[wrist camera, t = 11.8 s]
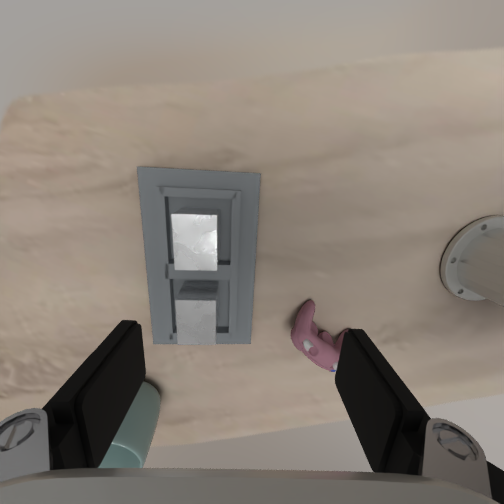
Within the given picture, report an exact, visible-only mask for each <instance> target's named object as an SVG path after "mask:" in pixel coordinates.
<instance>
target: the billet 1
mask: <svg viewBox="0 0 504 504" xmlns="http://www.w3.org/2000/svg"><path fill="white" fill-rule="evenodd" d="M171 217H172V233H173V250H174V266H175V270H208V271H217V269H218V264H219V259H220V209H208V208H181V209H179V210H177V211H175V212H174V213H172V214H171Z"/></svg>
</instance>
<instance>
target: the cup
mask: <svg viewBox="0 0 504 504" xmlns="http://www.w3.org/2000/svg"><path fill="white" fill-rule="evenodd" d="M160 404H161V400H160V395H159V393H158V391H157V389H156V388H155V387H154V386H152V385H151V384H149V383H147V382H144V381H143V383H142V385H141V387H140V389H139V391H138V393H137V395H136V397H135V399H134V401H133V402H132V404H131V406H130V408H129V410H128V412H127V414H126V416H125V418H124V420H123V422H122V424H121V426H120V428H119V430H118V432H117V434H116V436H115V437H114V439H113V441H112V443H111V445H110V447H109V449H108V451H107V453H106V455H105V457H104V459H103V461H102V463H101V464H100V466H99V467H98V468H143V466H144V463H145V460H146V457H147V454H148V451H149V448H150V445H151V442H152V439H153V436H154V432H155V429H156V426H157V422H158V418H159V413H160Z"/></svg>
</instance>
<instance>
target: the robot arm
mask: <svg viewBox="0 0 504 504" xmlns="http://www.w3.org/2000/svg"><path fill="white" fill-rule="evenodd" d="M441 278H442V282H443V284H444V285H445V287H446V288H447V289H448V290H449V291H450V292H451V293H453V294H454V295H456V296H458V297H460V298H462V299H465V300H470V301H479V300H485V299H489V300H491V301H493V302H495V303H497V304H499V305H501V306H503V307H504V216H489V217H485V218H482V219H479V220H477V221H475V222H473V223H471V224H469V225H468V226H467V227H465V228H464V229H463V230H461V231H460V232H459V233H458V234H457V235H456V236H455V237H454V239H453V240H452V241H451V243H450V244H449V245H448V247H447V249H446V251H445V253H444V256H443V258H442V263H441ZM145 375H146V368H145V359H144V349H143V339H142V329H141V325H140V324H138V323H137V321H133V320H122V321H121V322H120V323H119V324H118V325H117V326H116V327H115V328H114V330H113V331H112V332H111V333H110V334H109V335H108V336H107V337H106V339H105V340H104V341H103V342H102V343H101V344H100V345H99V346H98V348H97V349H96V350H95V351H94V352H93V353H92V354H91V355H90V356H89V357H88V358H87V359H86V360H85V361H84V362H83V363H82V365H81V366H80V367H79V368H78V369H77V370H76V371H75V372H74V374H73V375H72V376H71V377H70V378H69V379H68V380H67V381H66V383H65V384H64V385H63V386H62V387H61V388H60V389H59V390H58V391H57V393H56V394H55V395H54V396H53V397H52V398H51V399H50V400H49V402H48V403H47V404H46V405H45V406H44V407H43V408H42V409H38V408H32V409H26V410H23V411H20V412H17V413H15V414H13V415H11V416H9V417H7V418H6V419H4V420H3V421H1V422H0V504H504V471H503V470H501V469H500V468H498V467H496V466H495V465H493V464H491V463H490V462H488V461H486V457H485V454H484V451H483V449H482V448H481V446H480V445H479V443H478V442H477V441H476V440H475V439H474V438H473V437H472V436H471V435H470V434H469V433H467V432H466V431H465V430H464V429H462V428H461V427H459V426H458V425H456V424H454V423H452V422H449V421H447V420H444V419H440V418H432V419H431V418H430V417H429V416H428V414H427V413H426V412H425V410H424V409H423V407H422V406H421V405H420V403H419V402H418V401H417V399H416V398H415V397H414V395H413V394H412V393H411V392H410V390H409V389H408V388H407V386H406V385H405V384H404V382H403V381H402V380H401V379H400V377H399V376H398V375H397V373H396V372H395V371H394V369H393V368H392V367H391V365H390V364H389V363H388V362H387V360H386V359H385V358H384V356H383V355H382V354H381V352H380V351H379V350H378V348H377V347H376V346H375V345H374V343H373V342H372V341H371V339H370V338H369V337H368V335H367V334H366V333H365V331H364V330H362V329H349V330H348V332H345V333H344V336H343V341H342V346H341V351H340V356H339V360H338V365H337V370H336V375H335V384H336V387H337V389H338V392H339V394H340V396H341V399H342V401H343V403H344V406H345V408H346V410H347V413H348V415H349V417H350V420H351V422H352V424H353V427H354V428H355V431H356V433H357V436H358V438H359V441H360V443H361V445H362V448H363V450H364V452H365V455H366V457H367V459H368V462H369V464H370V466H371V468H372V470H373V472H351V471H348V472H347V471H306V470H302V471H301V470H255V469H191V468H190V469H187V468H186V469H183V468H98V467H99V466H100V464H101V463H102V461H103V459H104V457H105V455H106V453H107V451H108V449H109V447H110V445H111V443H112V441H113V439H114V437H115V436H116V434H117V432H118V430H119V428H120V426H121V424H122V422H123V420H124V418H125V416H126V414H127V412H128V410H129V408H130V406H131V404H132V402H133V401H134V399H135V397H136V395H137V393H138V391H139V389H140V387H141V385H142V383H143V381H144V379H145Z"/></svg>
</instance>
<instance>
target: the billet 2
mask: <svg viewBox="0 0 504 504" xmlns="http://www.w3.org/2000/svg"><path fill="white" fill-rule="evenodd" d="M175 306H176V324H177V342H178V345H216V337H217V329H218V321H219V282H201V281H184V283H183V285H182V287H181V289H180V291H179V293H178V296H177V298H176V300H175Z"/></svg>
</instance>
